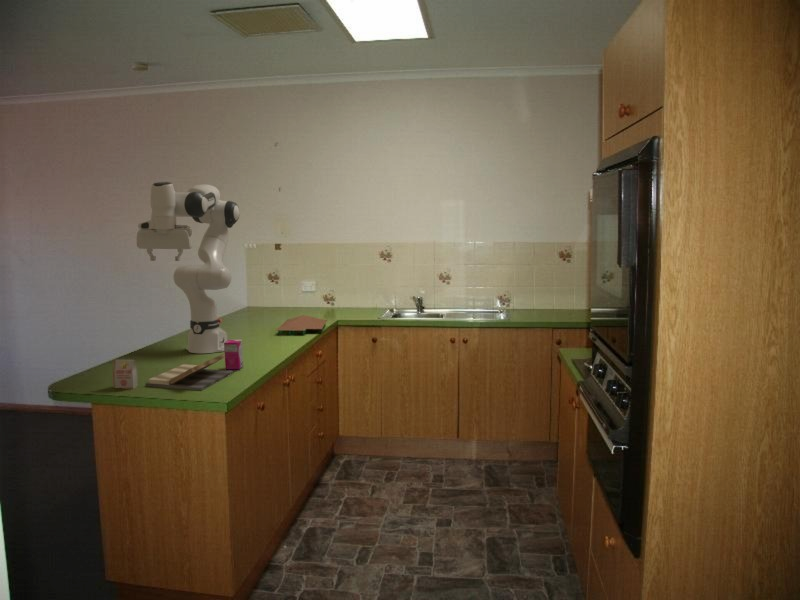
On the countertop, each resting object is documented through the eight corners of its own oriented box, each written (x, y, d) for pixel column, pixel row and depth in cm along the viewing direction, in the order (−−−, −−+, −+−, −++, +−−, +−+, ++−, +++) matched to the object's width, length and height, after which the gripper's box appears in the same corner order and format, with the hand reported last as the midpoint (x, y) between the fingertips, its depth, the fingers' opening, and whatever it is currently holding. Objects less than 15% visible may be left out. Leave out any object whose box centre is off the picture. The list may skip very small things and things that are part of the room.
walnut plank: (204, 368, 221) (202, 365, 221) (224, 357, 218) (222, 354, 218) (171, 384, 199) (169, 380, 199) (193, 372, 197) (191, 368, 197)
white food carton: (118, 385, 202) (117, 358, 200) (137, 385, 202) (136, 358, 200) (113, 388, 198) (112, 361, 197) (133, 388, 198) (131, 361, 197)
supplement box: (229, 366, 229) (228, 339, 227) (243, 367, 229) (243, 339, 227) (224, 370, 223) (223, 342, 222) (239, 370, 223) (238, 342, 222)
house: (327, 325, 325) (327, 311, 323) (320, 336, 292) (320, 321, 291) (287, 324, 324) (287, 310, 323) (276, 336, 291) (276, 320, 290)
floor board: (182, 369, 223) (182, 363, 223) (233, 373, 219) (233, 366, 219) (145, 386, 201) (145, 379, 201) (201, 390, 197) (201, 383, 196)
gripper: (194, 225, 219) (195, 260, 221) (141, 224, 219) (142, 260, 220) (188, 225, 213) (189, 261, 215) (133, 224, 212) (135, 261, 214)
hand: (165, 260), depth 218 cm, fingers open, 8 cm apart
